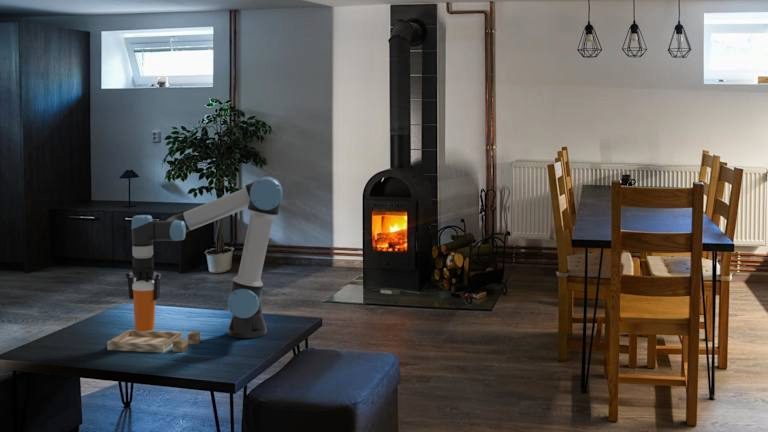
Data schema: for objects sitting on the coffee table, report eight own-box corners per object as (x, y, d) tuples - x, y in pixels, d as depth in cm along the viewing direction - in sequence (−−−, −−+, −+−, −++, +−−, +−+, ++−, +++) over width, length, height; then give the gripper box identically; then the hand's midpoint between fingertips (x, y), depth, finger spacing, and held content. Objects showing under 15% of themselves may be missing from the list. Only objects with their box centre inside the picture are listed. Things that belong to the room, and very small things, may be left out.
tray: (182, 339, 328) (182, 332, 328) (163, 352, 311) (163, 344, 310) (129, 337, 332) (128, 329, 331) (107, 349, 314) (107, 341, 314)
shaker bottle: (150, 332, 316) (150, 280, 313) (128, 331, 317) (127, 278, 315) (160, 327, 324) (160, 275, 322) (138, 325, 326) (138, 274, 323)
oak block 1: (188, 349, 315) (187, 339, 315) (182, 352, 311) (182, 341, 311) (178, 348, 316) (178, 338, 316) (172, 351, 313) (172, 340, 312)
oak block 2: (200, 341, 327) (199, 331, 326) (198, 344, 323) (198, 333, 322) (189, 341, 326) (189, 331, 326) (188, 344, 322) (188, 334, 322)
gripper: (168, 255, 320) (169, 316, 322) (126, 254, 322) (128, 314, 325) (160, 258, 312) (161, 320, 315) (117, 257, 315) (119, 319, 318)
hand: (145, 317), depth 320 cm, fingers open, 4 cm apart
